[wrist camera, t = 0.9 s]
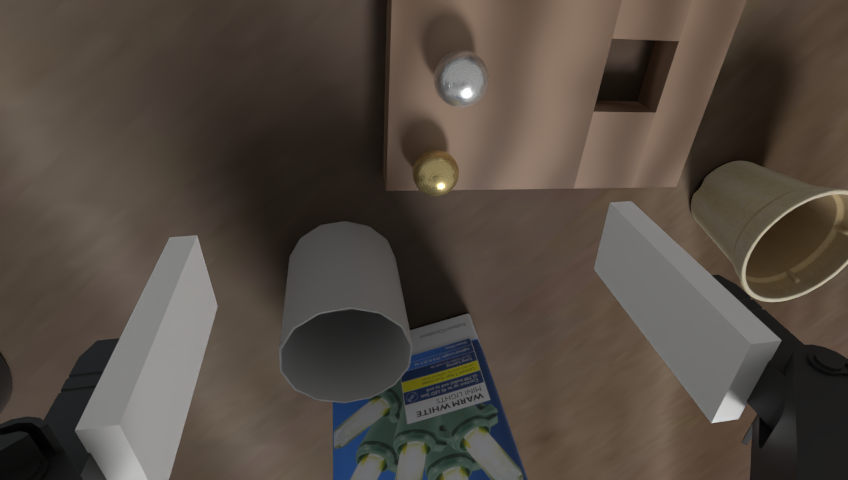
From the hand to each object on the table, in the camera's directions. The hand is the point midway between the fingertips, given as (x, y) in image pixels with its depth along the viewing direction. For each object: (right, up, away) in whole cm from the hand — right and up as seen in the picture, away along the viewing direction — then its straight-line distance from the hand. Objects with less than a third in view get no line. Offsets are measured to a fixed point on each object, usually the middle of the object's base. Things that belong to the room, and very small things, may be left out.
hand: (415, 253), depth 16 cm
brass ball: (+1, +5, +16) cm, 16 cm away
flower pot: (+26, +4, +26) cm, 37 cm away
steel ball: (+2, +10, +13) cm, 16 cm away
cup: (-6, -2, +24) cm, 24 cm away
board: (+9, +12, +17) cm, 23 cm away
